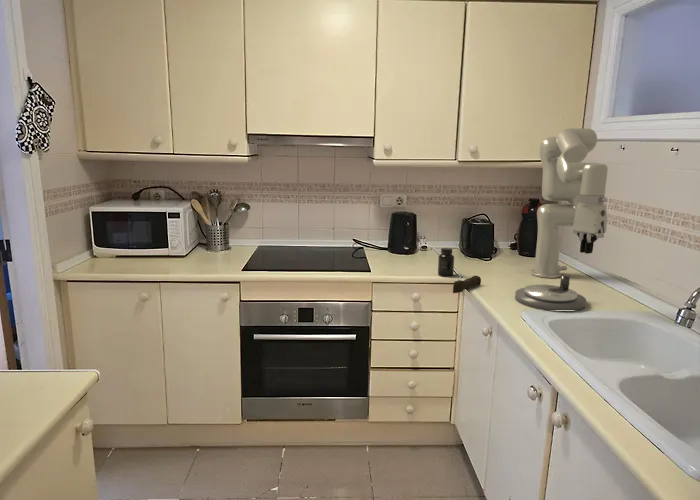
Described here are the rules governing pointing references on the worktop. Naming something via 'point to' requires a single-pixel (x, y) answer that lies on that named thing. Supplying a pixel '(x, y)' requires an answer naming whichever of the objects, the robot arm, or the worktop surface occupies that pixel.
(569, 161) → the robot arm
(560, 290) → the dial
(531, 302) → the dial base
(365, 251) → the worktop surface
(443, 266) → the supplement bottle
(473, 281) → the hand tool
